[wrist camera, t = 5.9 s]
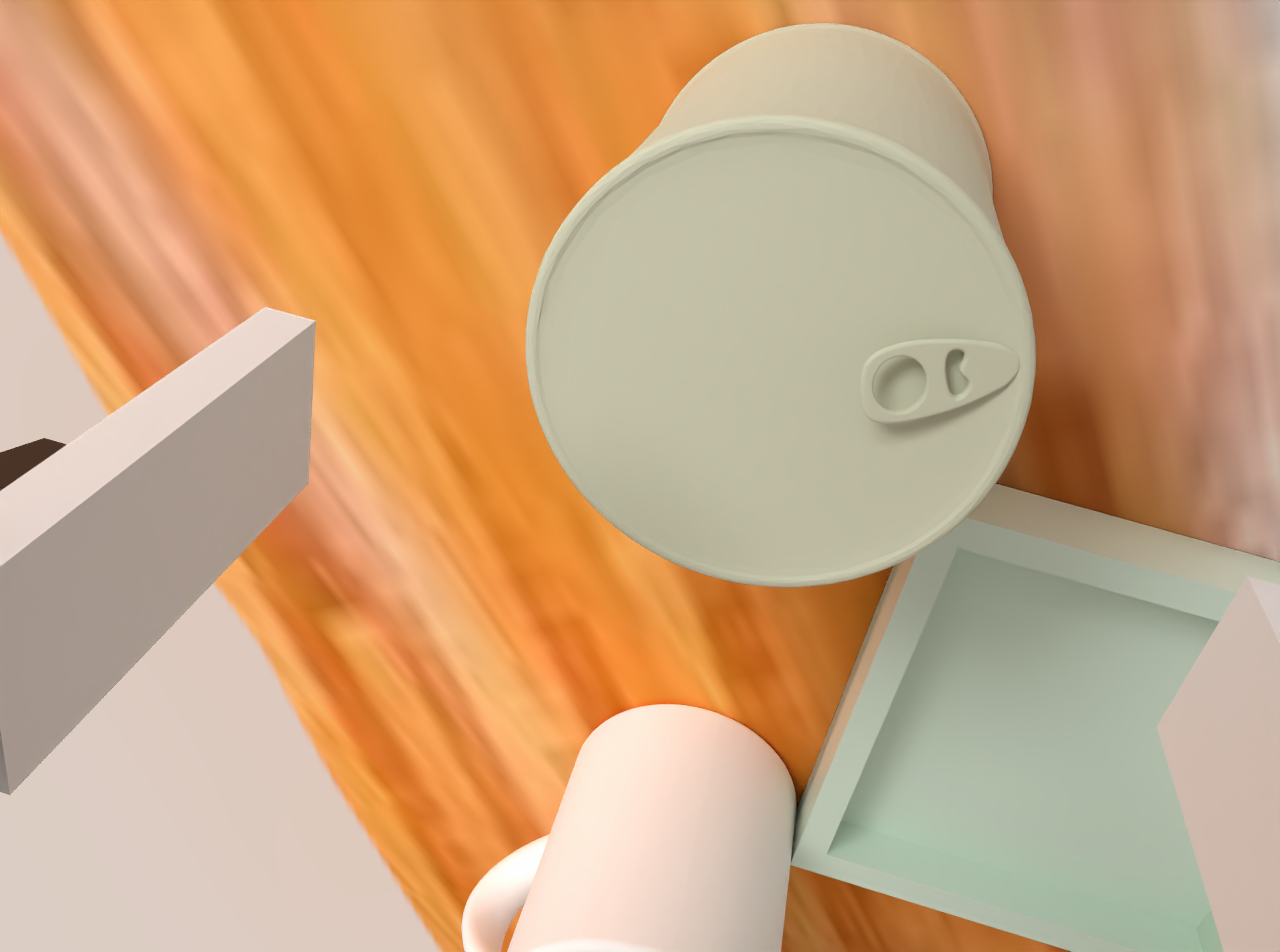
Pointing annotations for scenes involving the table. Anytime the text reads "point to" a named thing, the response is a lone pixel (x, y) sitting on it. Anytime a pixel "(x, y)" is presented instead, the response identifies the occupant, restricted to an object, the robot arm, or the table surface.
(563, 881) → the mug
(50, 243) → the table surface
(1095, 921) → the tray
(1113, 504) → the table surface
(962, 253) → the can
